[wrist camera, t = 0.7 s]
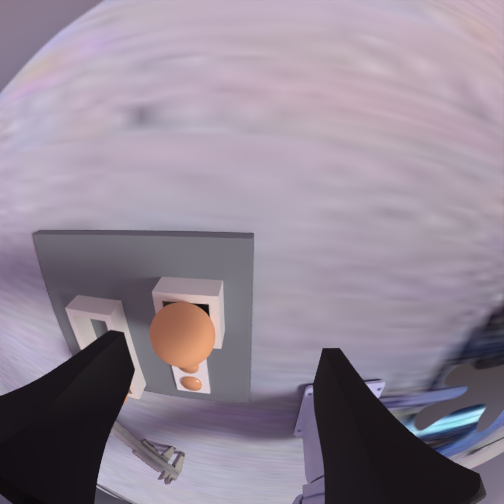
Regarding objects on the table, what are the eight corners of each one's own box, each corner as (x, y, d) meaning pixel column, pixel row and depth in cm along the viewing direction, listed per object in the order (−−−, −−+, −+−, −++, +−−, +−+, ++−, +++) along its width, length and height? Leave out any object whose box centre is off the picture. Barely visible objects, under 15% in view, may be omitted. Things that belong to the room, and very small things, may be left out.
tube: (224, 330, 20) (221, 348, 18) (169, 326, 20) (162, 343, 18) (222, 280, 18) (218, 296, 16) (161, 276, 18) (151, 291, 16)
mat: (250, 395, 24) (249, 403, 23) (86, 369, 25) (82, 375, 24) (253, 233, 18) (253, 238, 17) (39, 230, 19) (32, 234, 18)
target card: (210, 391, 23) (209, 395, 22) (178, 387, 23) (177, 391, 22) (205, 352, 21) (204, 356, 20) (169, 348, 21) (167, 352, 20)
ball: (220, 341, 19) (212, 384, 15) (165, 336, 19) (148, 376, 15) (218, 291, 17) (206, 333, 13) (156, 287, 17) (133, 325, 13)
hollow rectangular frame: (146, 384, 23) (139, 399, 21) (107, 375, 23) (99, 389, 21) (121, 300, 19) (110, 315, 18) (77, 294, 20) (65, 307, 18)
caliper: (186, 451, 31) (178, 487, 25) (181, 452, 31) (173, 488, 26) (62, 366, 26) (38, 401, 20) (59, 368, 26) (36, 403, 20)
